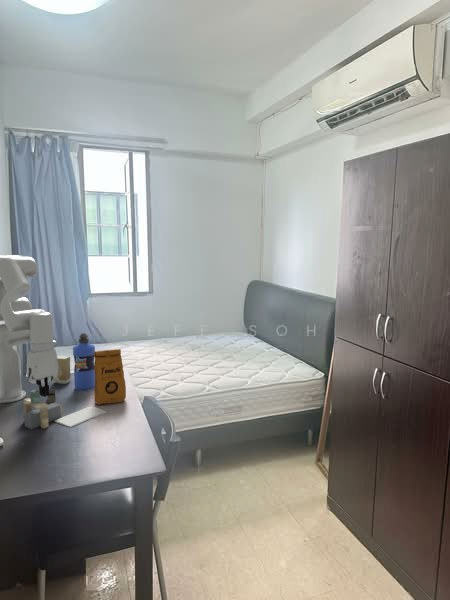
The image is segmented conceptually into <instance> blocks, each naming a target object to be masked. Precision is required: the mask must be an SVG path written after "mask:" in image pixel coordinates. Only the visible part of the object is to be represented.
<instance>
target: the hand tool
mask: <svg viewBox="0 0 450 600" xmlns="http://www.w3.org/2000/svg"><path fill="white" fill-rule="evenodd" d="M56 397H57V396H56V390H55V389H54V388H53V389H49V396H47V397H46V401H45V402H44V403H45V404H48V405H49V404H52V403H56Z"/></svg>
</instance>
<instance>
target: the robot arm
mask: <svg viewBox="0 0 450 600" xmlns="http://www.w3.org/2000/svg"><path fill="white" fill-rule="evenodd" d="M38 271H39V267H38V264H37V262H36V260H35V259H34V258H33V257H31V256H26V255H21V254H20V255H19V254H17V255H16V254H13V255H12V254H0V322H4V323H2V324H0V404H6V403H14V402H17V401H20V400H23V399H25V398H26V396H27V392H26V391H25V390H23V389H22V373H21V370H22V367H21V355H20V354H19V352H18V351H17V350H16V349H14V347H15V346H19V345H20V346H21V345H25V344H26V345H27V344H30V351H28V354H27V359H26V377H27V378H28V379H29V380H28V383H29V384H36V385H37V386H38V391H39V395H40V397H44V398H47V397H48V396H49V392H50V385H51V383H52V380H54V378H55V377H57V376H58V374H57V373H58V359H57V356H58V355H57V350H56V348H54V346H55V345H56V344H57V341H56V340H54V325H53V315H52V313H50V312H49V311H46V310H44V309H41V308H35V309H33V306H32V303H31V301H30V300H29V299H28V298H27V297H25V296H27V295H28V294H29V293H30V292H31V289H32V287H31V285H30V282H29V279H28V278H35V277H36V276H37V274H38Z"/></svg>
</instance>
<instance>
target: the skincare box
mask: <svg viewBox="0 0 450 600" xmlns="http://www.w3.org/2000/svg"><path fill="white" fill-rule="evenodd" d="M57 359H58V373H57V374H58V376H57V377H55V378H53V383H54V384H63V385H66V384H68V383H70V382H71V356H65V355H57Z"/></svg>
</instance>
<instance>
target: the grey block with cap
mask: <svg viewBox="0 0 450 600" xmlns="http://www.w3.org/2000/svg"><path fill="white" fill-rule="evenodd" d="M62 414H63V406H61V404H59V403H56V402H55V403H52V404H49V405H48V423H50V422H52V421H55V420H57V419H59V418H62ZM23 417H24V418H23V419H24V427H25V428H28V429H31V430H33V429H35V428H37V427H41V419H40V409H38V408H35V409H31V411H29V412H27V413H24V412H23Z"/></svg>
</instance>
